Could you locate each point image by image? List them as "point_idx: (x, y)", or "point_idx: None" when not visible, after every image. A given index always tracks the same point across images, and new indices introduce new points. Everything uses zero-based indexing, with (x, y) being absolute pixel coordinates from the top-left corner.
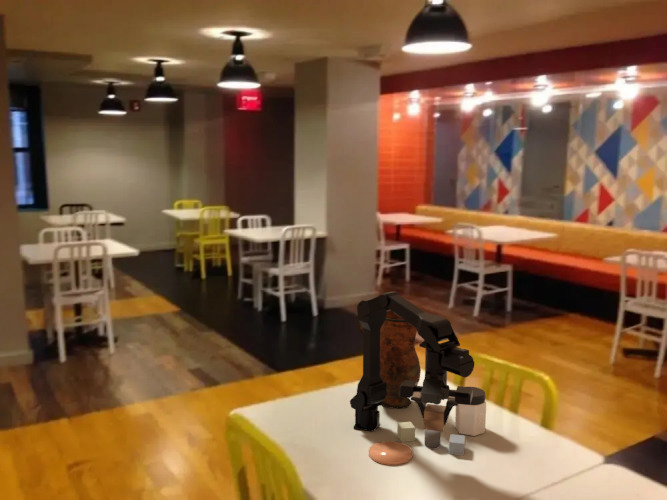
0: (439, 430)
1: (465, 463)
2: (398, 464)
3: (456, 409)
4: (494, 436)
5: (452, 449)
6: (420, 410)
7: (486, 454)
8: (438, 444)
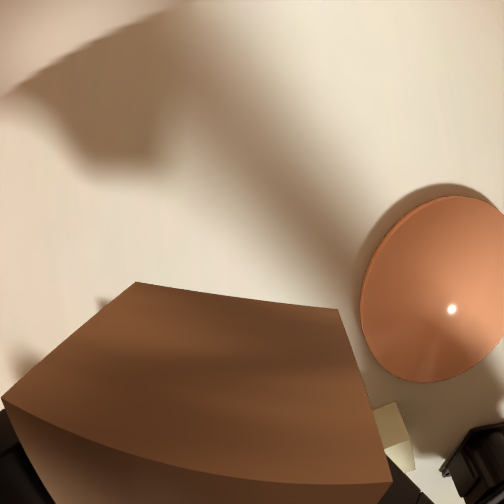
0: (165, 290)
1: (120, 272)
2: (420, 205)
3: None
4: None
5: None
6: (418, 496)
7: None
8: None
